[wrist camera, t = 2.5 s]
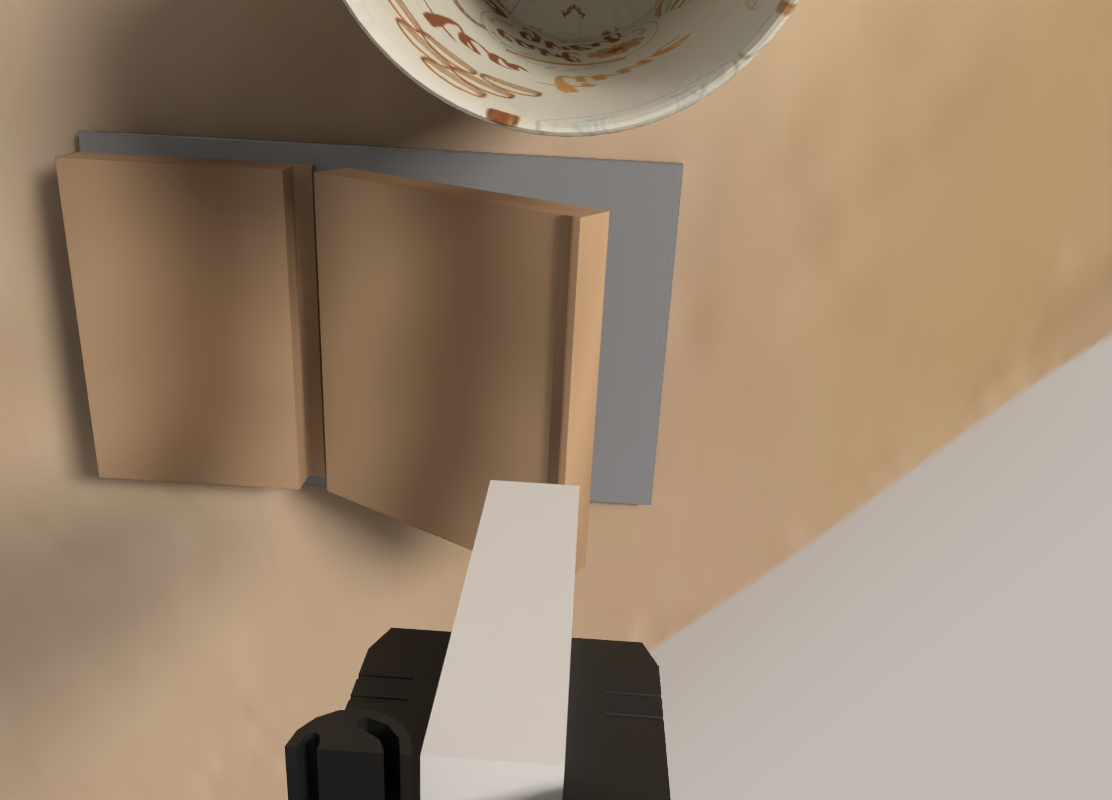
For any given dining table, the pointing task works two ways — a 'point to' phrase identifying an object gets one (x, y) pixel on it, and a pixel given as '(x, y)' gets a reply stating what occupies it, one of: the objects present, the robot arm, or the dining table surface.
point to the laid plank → (197, 316)
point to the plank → (455, 345)
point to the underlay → (614, 185)
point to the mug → (570, 55)
